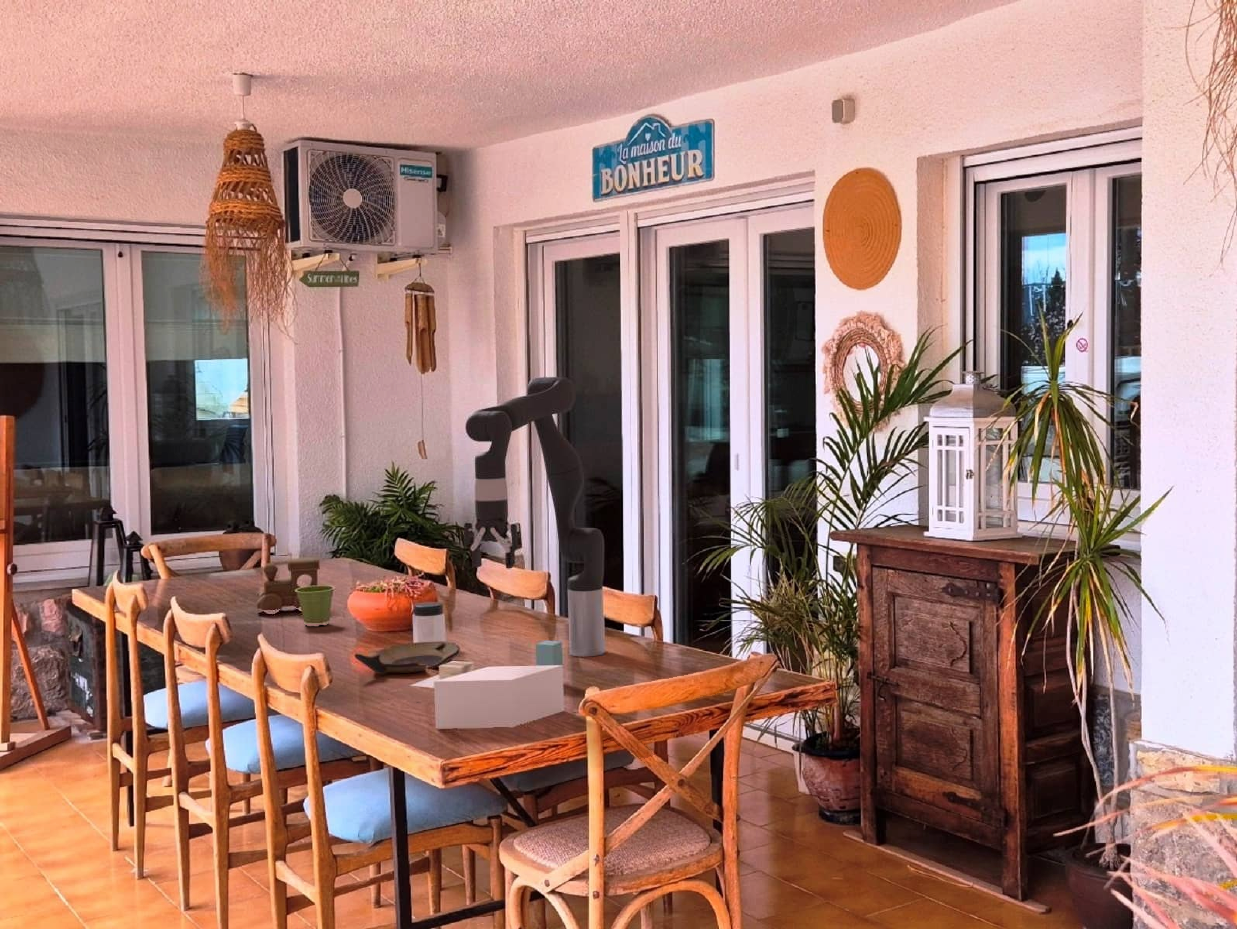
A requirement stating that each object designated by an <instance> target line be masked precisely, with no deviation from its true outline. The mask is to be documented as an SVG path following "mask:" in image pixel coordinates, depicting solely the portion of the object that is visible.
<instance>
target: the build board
mask: <svg viewBox="0 0 1237 929" xmlns="http://www.w3.org/2000/svg"><path fill="white" fill-rule="evenodd" d="M438 680H439V674H437V675H434V676H431V677H429V678H426V679H423V680H421V681H418V682H416V683H412V684H410V685H409V686H410V687H420V688H431V689H434V681H438Z"/></svg>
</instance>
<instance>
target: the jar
mask: <svg viewBox="0 0 1237 929" xmlns="http://www.w3.org/2000/svg"><path fill="white" fill-rule="evenodd" d="M412 606H413V607H412V608H413V614H412V635H413V636H412V637H413V640H412V641H413V643H418V642H439V641H442V642H446V641H447V640H446V637H447V636H446V616H445V615H446V614H445V613H444V603H443V602H440V601H424V602H418V603H414V604H413V605H412Z"/></svg>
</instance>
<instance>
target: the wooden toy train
mask: <svg viewBox="0 0 1237 929" xmlns="http://www.w3.org/2000/svg"><path fill="white" fill-rule="evenodd" d="M286 561H287V562H286V563H287V570H288V572H290V578H283V579H275V578H276V575H277V573H278V571H279V568H278V567H277V565H276V564H275V563H273V562H270V563H266V564H265V566H264V568H263V570H262V571H263V573H264V575H265V577H266V579H267V580H264V581H263V591H262V593H261V594H260V596H259V598H258V599H257V601H256V608H257V609H258V610H260V609H261V611H262V610H276V609H277V610H278V609H281V610H282V608H285V607H294V608H295V607H296V608H299V607H301V606H300V601H299V599H298V595H297V592H295V590H296V589H298V588H302V587H303V586H300V585H298V580H299V578H300V577H301V576H303V575H306V576H308V577H311V578H310V579H311V580H310V583H309V584H308V585H307V586H306V587H308V586H318V581H319V580H318V570H320V567H321V566H320V564H321V563H320V558H319V557H303V558H302V557H301V558H292V559H291V558H289V559H287V560H286ZM296 608H295V609H296Z"/></svg>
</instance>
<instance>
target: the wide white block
mask: <svg viewBox="0 0 1237 929" xmlns="http://www.w3.org/2000/svg"><path fill="white" fill-rule="evenodd" d="M433 690H434V691H433V692H434V713H435V714H434V719H435V721H434V722H435V729H436V728H437V729H436V730H440V729H441V730H443V729H445V730H448V729H452V730H453V728H454V729H455V728H457V729H491V728H492V729H494V728H493V727H509V728H515V726H516V727H518V726H517V725H519V726H521V725H520V724H522V725H525V724H528V723H531V722H534V721H537V720H540V719H543V717H544V718H547V717H549V716H552V715H556V714H558V713H562V712H564V711H565V701H564V699H565V698H564V696H565V695H564V694H565V693H564V666H563V665H550V666H537V665H520V666H519V665H515V666H514V665H511V666H509V665H506V666H503V665H502V666H486V667H482V668H479V669H474V671H471V672H467V673H464V674H460V675H456V676H452V677H449V678H445V679H441V680H438V681H434V688H433ZM533 720H534V721H533ZM530 721H531V722H530ZM527 722H528V723H527ZM524 723H525V724H524Z"/></svg>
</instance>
